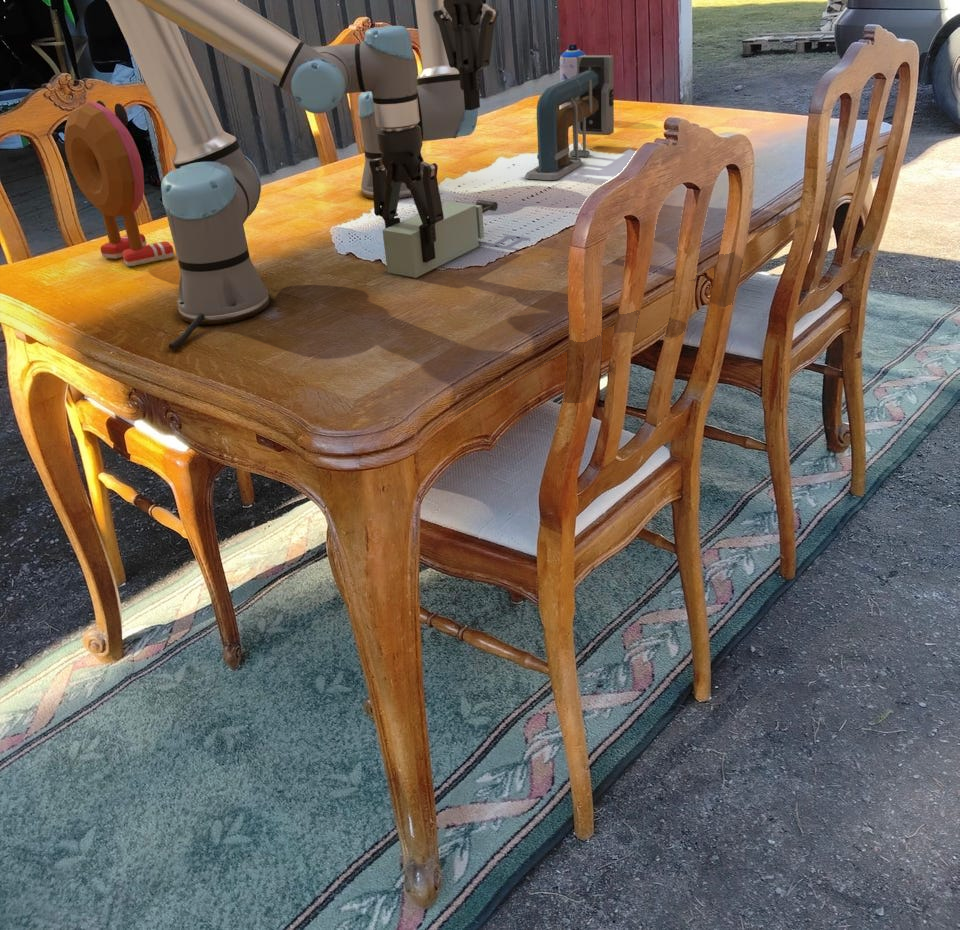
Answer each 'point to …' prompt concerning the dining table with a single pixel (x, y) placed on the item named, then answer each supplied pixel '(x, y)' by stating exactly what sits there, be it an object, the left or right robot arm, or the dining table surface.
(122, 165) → the toy
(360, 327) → the dining table surface
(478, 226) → the drawer
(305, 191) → the dining table surface
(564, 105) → the aerosol can
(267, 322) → the dining table surface
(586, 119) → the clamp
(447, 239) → the cabinet
